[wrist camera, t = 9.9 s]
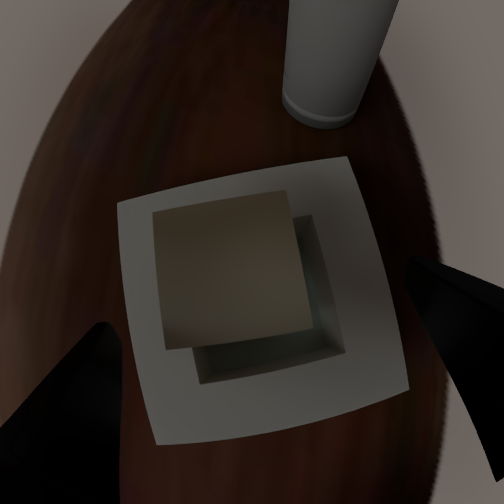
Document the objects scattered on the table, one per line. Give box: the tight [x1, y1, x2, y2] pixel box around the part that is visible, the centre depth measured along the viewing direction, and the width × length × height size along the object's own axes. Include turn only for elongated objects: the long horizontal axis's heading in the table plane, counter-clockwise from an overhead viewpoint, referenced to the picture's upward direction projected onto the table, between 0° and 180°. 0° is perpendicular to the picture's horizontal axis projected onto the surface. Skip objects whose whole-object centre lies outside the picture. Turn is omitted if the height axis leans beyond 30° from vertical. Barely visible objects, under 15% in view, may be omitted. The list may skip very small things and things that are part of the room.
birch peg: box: [152, 190, 313, 350], centre depth 13 cm, size 4×4×10 cm
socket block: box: [117, 156, 409, 445], centre depth 16 cm, size 15×15×5 cm
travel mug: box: [282, 0, 399, 129], centre depth 12 cm, size 6×7×20 cm
